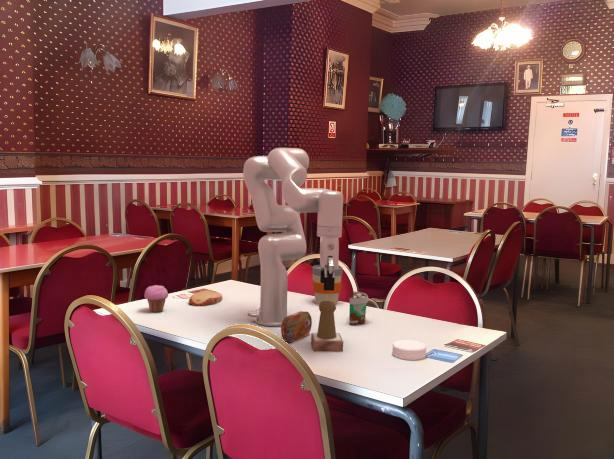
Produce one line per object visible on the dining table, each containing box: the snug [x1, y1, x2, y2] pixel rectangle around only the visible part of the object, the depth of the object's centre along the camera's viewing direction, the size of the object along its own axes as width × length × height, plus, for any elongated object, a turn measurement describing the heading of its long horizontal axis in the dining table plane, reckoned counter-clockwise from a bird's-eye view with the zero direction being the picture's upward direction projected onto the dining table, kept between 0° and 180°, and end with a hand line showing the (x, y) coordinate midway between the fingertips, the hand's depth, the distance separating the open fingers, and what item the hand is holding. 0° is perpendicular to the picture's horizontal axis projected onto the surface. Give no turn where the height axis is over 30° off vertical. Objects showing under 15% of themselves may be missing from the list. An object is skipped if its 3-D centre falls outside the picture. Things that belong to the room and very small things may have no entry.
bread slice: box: [188, 289, 223, 307], centre depth 242 cm, size 18×18×4 cm
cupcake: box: [144, 284, 169, 313], centre depth 223 cm, size 9×9×10 cm
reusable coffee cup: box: [311, 264, 343, 306], centre depth 241 cm, size 13×13×15 cm
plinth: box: [310, 332, 344, 352], centre depth 183 cm, size 9×9×3 cm
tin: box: [280, 310, 313, 343], centre depth 191 cm, size 15×3×8 cm, turn 148°
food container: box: [348, 291, 369, 326], centre depth 212 cm, size 12×6×10 cm, turn 168°
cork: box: [316, 301, 337, 339], centre depth 182 cm, size 6×6×11 cm
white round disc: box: [392, 339, 427, 361], centre depth 177 cm, size 10×10×4 cm
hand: (327, 286), depth 182 cm, fingers open, 9 cm apart
